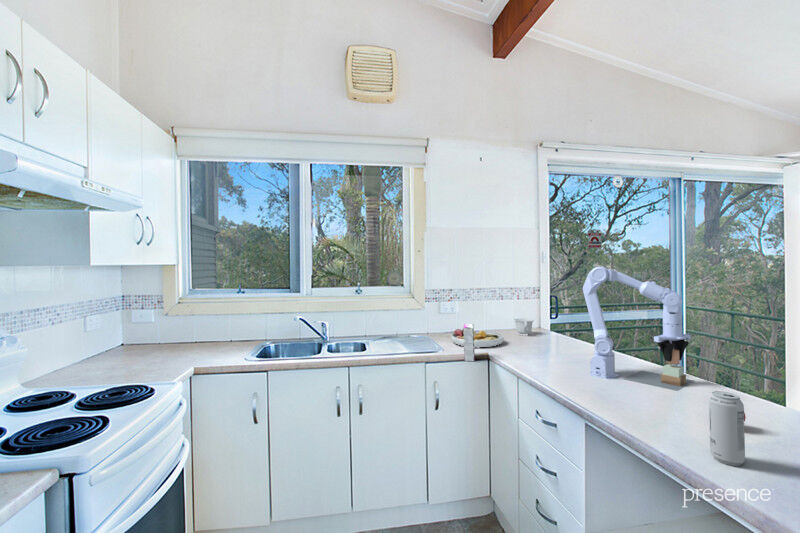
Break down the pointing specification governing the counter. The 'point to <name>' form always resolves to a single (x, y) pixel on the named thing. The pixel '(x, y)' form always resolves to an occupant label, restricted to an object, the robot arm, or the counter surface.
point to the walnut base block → (673, 380)
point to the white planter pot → (523, 325)
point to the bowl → (478, 338)
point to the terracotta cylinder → (674, 358)
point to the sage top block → (673, 370)
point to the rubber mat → (654, 380)
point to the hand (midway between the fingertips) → (673, 360)
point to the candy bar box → (469, 342)
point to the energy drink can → (727, 428)
